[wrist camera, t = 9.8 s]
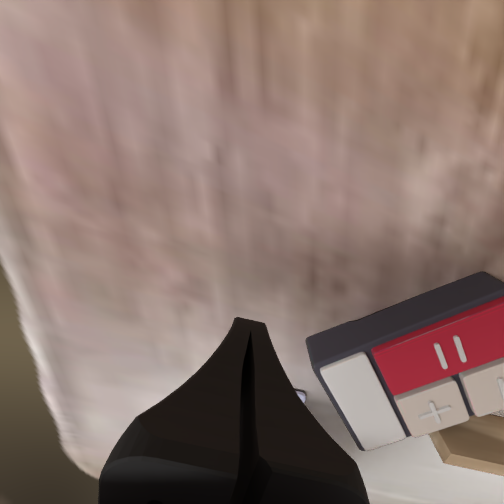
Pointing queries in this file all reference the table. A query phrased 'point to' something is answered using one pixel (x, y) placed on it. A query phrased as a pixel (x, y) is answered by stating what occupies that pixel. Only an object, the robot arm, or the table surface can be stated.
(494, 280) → the calculator
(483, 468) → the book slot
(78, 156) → the table surface
